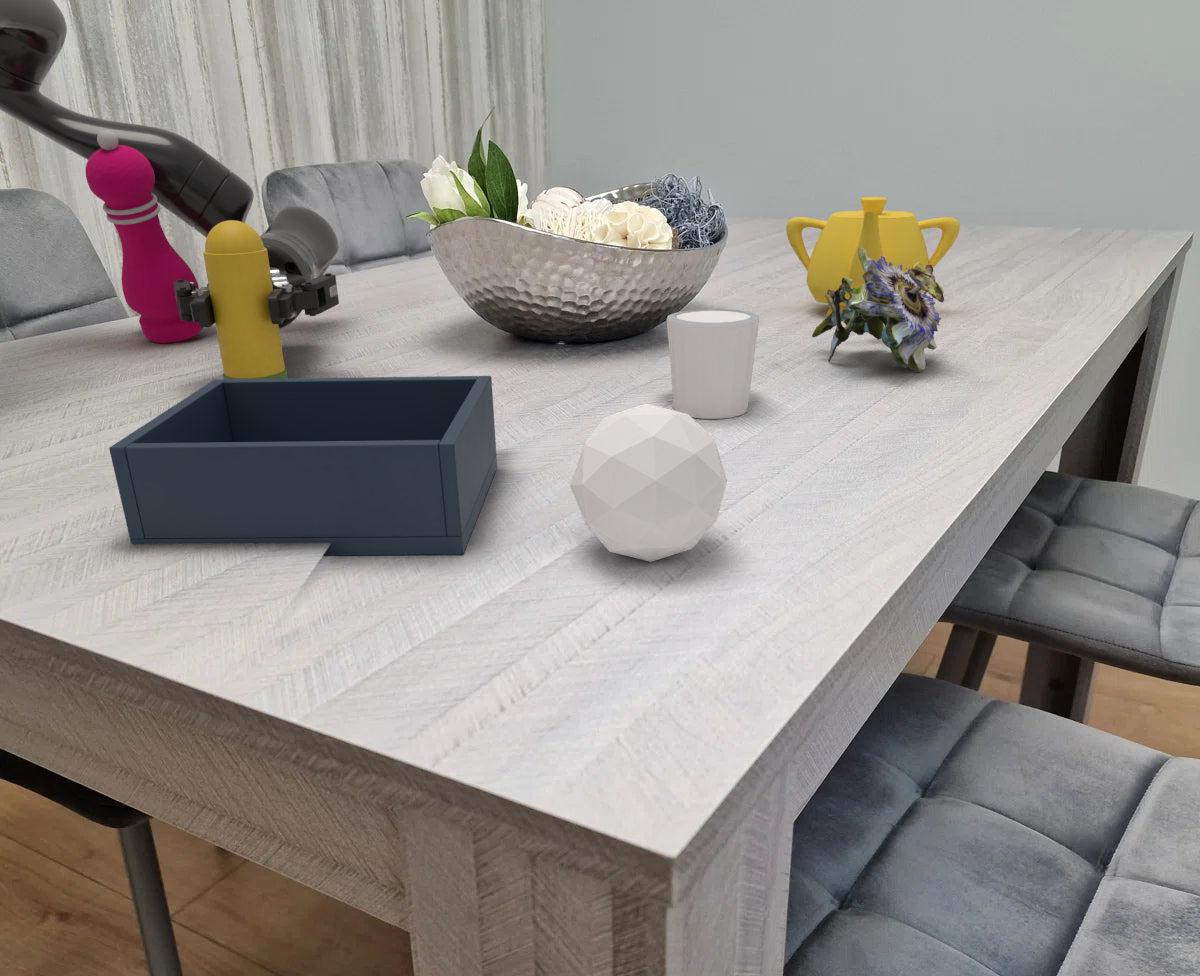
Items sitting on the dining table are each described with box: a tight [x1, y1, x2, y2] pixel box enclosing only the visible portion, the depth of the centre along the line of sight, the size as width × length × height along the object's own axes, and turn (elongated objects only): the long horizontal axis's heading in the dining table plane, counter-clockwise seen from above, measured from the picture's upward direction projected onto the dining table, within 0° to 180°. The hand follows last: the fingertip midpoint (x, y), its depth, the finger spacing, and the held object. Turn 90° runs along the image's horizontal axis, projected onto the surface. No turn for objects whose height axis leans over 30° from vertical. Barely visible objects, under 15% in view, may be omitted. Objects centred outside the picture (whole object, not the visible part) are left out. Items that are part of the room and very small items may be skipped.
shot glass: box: [666, 308, 760, 420], centre depth 78 cm, size 7×7×7 cm
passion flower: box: [811, 247, 945, 373], centre depth 90 cm, size 11×11×12 cm
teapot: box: [785, 196, 961, 318], centre depth 112 cm, size 14×14×12 cm
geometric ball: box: [569, 403, 728, 563], centre depth 53 cm, size 8×8×8 cm
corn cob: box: [202, 220, 288, 379], centre depth 83 cm, size 5×5×14 cm
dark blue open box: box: [108, 375, 498, 556], centre depth 60 cm, size 18×15×6 cm
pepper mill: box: [85, 130, 205, 344], centre depth 102 cm, size 7×7×20 cm
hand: (238, 312), depth 81 cm, fingers closed on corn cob, 4 cm apart
